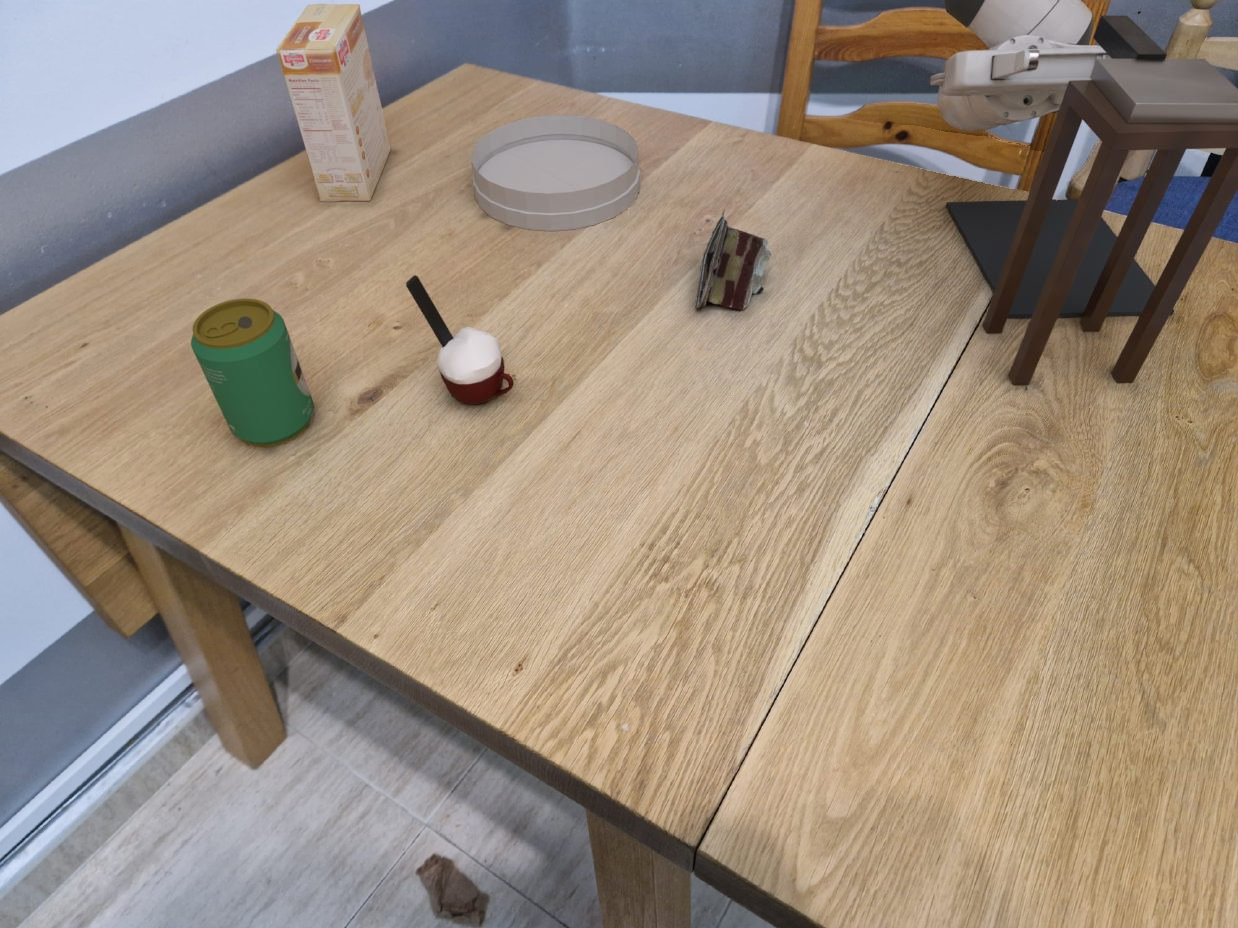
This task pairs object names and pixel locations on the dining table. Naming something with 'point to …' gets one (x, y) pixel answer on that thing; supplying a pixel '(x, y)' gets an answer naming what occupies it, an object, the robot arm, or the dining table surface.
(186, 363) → the dining table surface
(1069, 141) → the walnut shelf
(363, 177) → the coffeecake box
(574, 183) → the dish
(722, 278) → the chocolate cake
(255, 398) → the beverage can
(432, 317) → the cocoa
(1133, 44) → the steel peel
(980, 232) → the rubber mat
